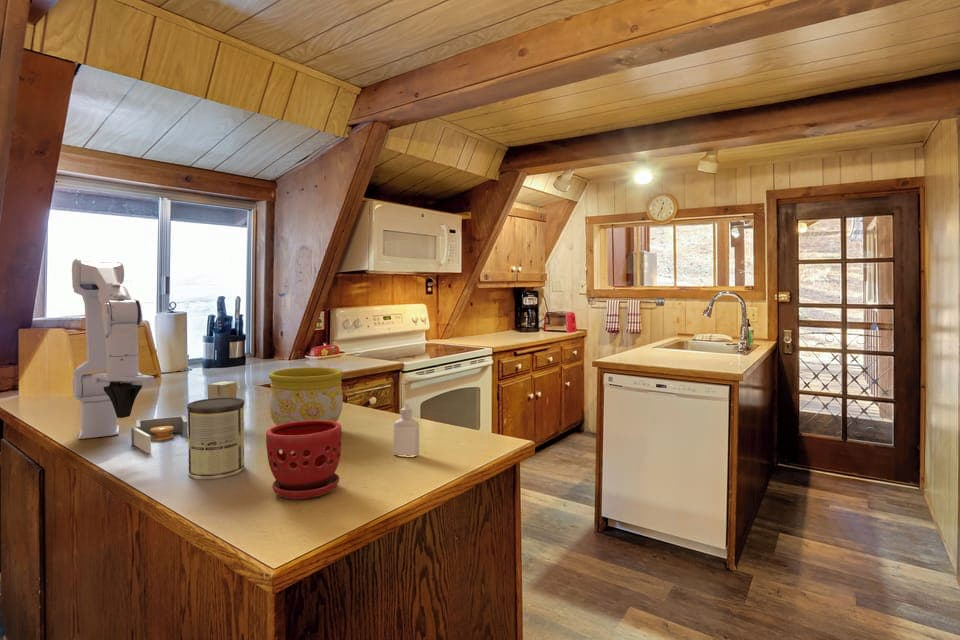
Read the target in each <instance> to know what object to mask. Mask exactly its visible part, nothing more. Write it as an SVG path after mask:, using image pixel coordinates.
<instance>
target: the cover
mask: <svg viewBox="0 0 960 640" xmlns="http://www.w3.org/2000/svg"><path fill="white" fill-rule="evenodd" d="M130 430H131V433H130V434H131V446H135V447H136V448H139V449H140V450H142V451H143V452H145V453H146V454H150V453H152V444H151V443H152V440H151V436H152V435H149V434H147V433H145V432H143V431H141V430H139V429H138V428H137V427H136V426H134V427H131V429H130Z"/></svg>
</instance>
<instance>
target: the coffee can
mask: <svg viewBox="0 0 960 640" xmlns="http://www.w3.org/2000/svg"><path fill="white" fill-rule="evenodd" d="M244 405H245V400H244V399H243V398H239V397H236V398H211V399H208V398H203V399H198V400H194V401H192V402H189V403H188V404H187V405H186V409H187V432H188V437H187V439H188V440H187V441H188V443H187V444H188V476H189V478H192V479H194V480H195V479H196V480H216V479H222V478H223V479H224V478H228V477H231V476H234V475H236V474H239V473H241V472H243V471H244V470H245V466H246V465H245V424H244V423H245V422H244V420H245V419H244V417H245V413H244V412H245V407H244Z"/></svg>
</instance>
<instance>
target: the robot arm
mask: <svg viewBox="0 0 960 640" xmlns="http://www.w3.org/2000/svg"><path fill="white" fill-rule="evenodd" d="M71 265H72V266H71V280H72V284H71V285H72V289H73V293H75V294H77V295H80V296H81V297H82V300H83V304H84V316H85V317H84V320H85V321H84V322H85V346H86V361H84V362H83V363H81V364H80V365H78V366H77V367H76V368H75V369H74V371H73V379H72V392H73V393H72V394H73V398H74V399H76V401H77V400H78V401H80V414H81V415H80V416H81V417H80V418H81V421H80V423H81V430H80V432H79V435H78V440H83V439H84V440H85V439H91V438H92V439H93V438H100V437H109V436H118V435H119V433H120V425H119V424H117V423H118V419H123V418H125V419H126V418H129V417H131V414H132V410H133V406H134V404H135V400H136V398H137V396H138V394H139V393H140V391H141V390H142V388H143V387H150V386H154V385H155V376H153V375H147V374H143V373H142V372H140V371H139V369H140V368H139V326H140V325H141V322H142V317H143V315H142V305H141V302H140V300H139V299H136V298H135V299H133V298H132V297H131V295H130V293H129V290H128V289H127V288H126V286H125V285H123V283H124V279H125V267H124V266H125V265H124V264H123V263H122V261H120V260H101V259H100V260H98V259H83V258H82V259H80V258H75V259H74V260H73V261H72V263H71ZM94 372H96V373H94ZM97 372H98V373H97ZM99 372H100V373H99ZM87 373H88V374H87Z"/></svg>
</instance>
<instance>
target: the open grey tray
mask: <svg viewBox="0 0 960 640" xmlns="http://www.w3.org/2000/svg"><path fill="white" fill-rule="evenodd" d="M159 426H173V427H174V430H172V431H170V434H174V433H181V435H182V437H183V439H185V438H188V419H187V418H186V416H185V415H176V416H175V415H174V416H166V417H158V418H157V417H156V418H145V419H137V420H135V427H137V428H138V429H139V430H141V431H143V432H145V433H147V434H149V435H150V436H154V435H155V434H154V433H152V432H150V429H151V428H154V427H159ZM173 432H174V433H173Z"/></svg>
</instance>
